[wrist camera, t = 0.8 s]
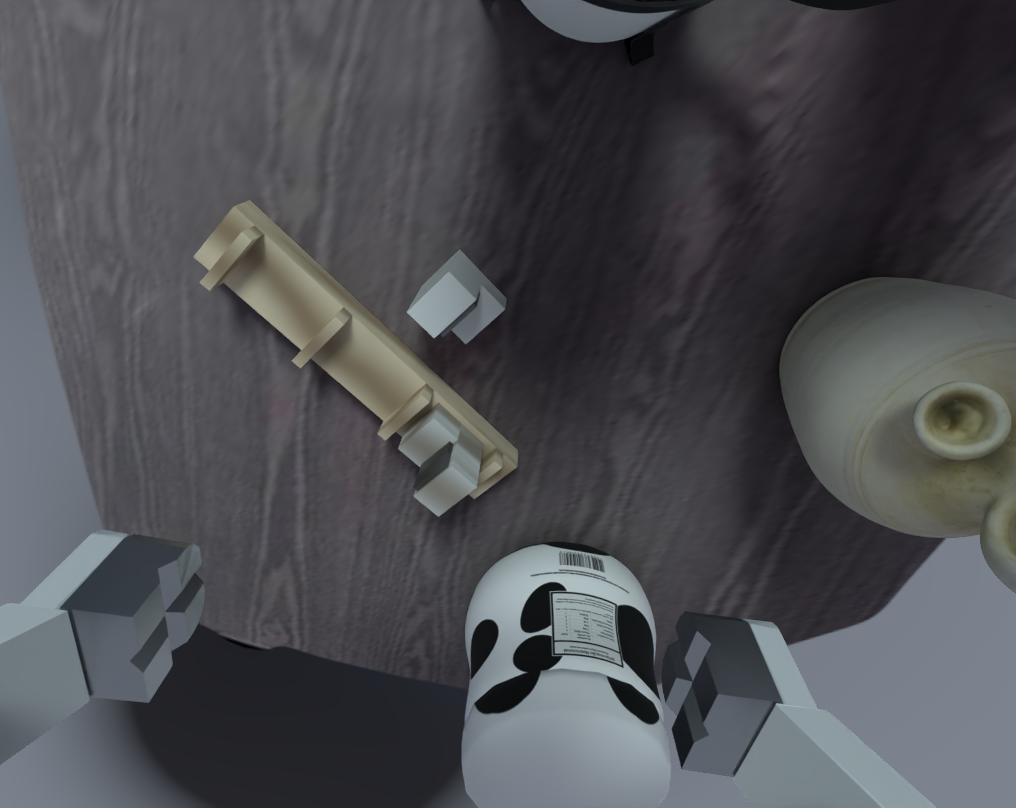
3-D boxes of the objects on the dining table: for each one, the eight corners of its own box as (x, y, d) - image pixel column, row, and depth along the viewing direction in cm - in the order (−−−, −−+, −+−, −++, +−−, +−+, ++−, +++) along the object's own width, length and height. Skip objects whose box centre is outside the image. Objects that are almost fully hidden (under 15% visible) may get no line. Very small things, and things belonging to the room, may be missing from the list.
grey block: (459, 249, 42) (448, 271, 37) (506, 298, 44) (502, 326, 39) (422, 285, 44) (406, 312, 38) (469, 332, 45) (460, 363, 40)
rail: (249, 200, 41) (186, 223, 34) (518, 450, 50) (515, 513, 43) (210, 248, 43) (142, 281, 36) (476, 482, 52) (467, 547, 44)
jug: (728, 314, 44) (923, 538, 22) (948, 214, 40) (1461, 363, 18) (786, 466, 50) (986, 760, 28) (983, 391, 46) (1397, 666, 24)
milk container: (518, 670, 64) (512, 862, 48) (438, 561, 57) (401, 743, 41) (670, 624, 59) (720, 818, 43) (605, 500, 52) (635, 677, 37)
